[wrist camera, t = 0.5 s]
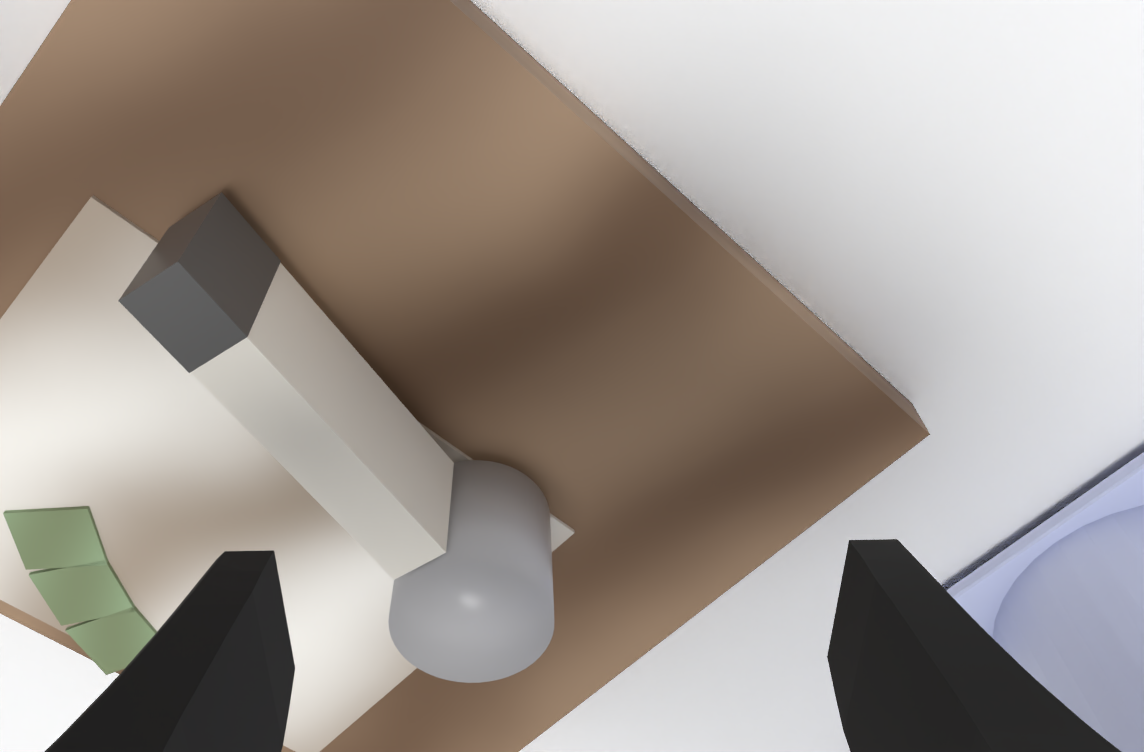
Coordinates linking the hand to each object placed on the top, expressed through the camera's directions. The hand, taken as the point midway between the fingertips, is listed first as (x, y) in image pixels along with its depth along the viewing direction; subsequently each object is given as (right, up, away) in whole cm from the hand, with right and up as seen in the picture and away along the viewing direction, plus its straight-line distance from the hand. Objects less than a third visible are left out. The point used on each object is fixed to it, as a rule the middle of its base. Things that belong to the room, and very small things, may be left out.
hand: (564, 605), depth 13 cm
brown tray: (-5, +2, +10) cm, 11 cm away
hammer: (-4, +2, +8) cm, 9 cm away
